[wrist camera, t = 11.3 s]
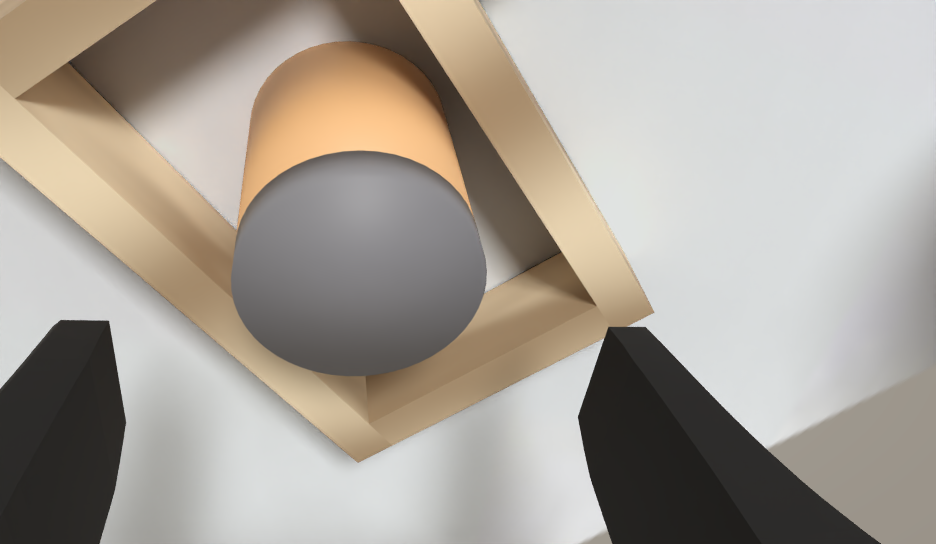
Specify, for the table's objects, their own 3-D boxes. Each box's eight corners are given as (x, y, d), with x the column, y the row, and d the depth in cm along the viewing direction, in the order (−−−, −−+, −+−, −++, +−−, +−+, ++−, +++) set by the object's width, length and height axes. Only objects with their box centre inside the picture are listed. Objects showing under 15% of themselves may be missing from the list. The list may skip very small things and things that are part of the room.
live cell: (426, 222, 18) (457, 381, 14) (244, 205, 17) (226, 371, 13) (463, 57, 16) (513, 193, 12) (256, 26, 15) (236, 163, 11)
